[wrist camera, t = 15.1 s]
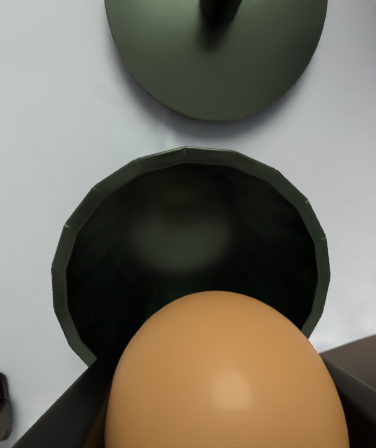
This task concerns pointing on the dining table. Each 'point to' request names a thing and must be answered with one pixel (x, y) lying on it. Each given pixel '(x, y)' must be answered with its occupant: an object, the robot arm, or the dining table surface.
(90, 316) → the bin
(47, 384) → the dining table surface
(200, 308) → the brown egg
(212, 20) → the bin lid
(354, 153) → the dining table surface
